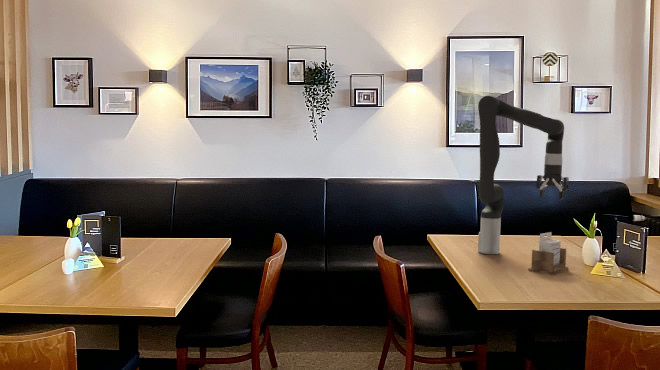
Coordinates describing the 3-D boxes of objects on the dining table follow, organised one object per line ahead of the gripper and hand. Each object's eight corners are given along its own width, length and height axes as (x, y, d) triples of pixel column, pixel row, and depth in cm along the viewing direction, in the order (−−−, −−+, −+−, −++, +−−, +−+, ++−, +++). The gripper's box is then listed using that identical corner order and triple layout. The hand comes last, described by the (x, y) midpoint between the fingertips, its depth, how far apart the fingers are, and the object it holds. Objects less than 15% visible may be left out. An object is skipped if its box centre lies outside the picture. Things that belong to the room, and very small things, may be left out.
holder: (528, 270, 256) (529, 249, 255) (543, 264, 266) (544, 244, 265) (553, 275, 248) (554, 254, 247) (568, 269, 259) (569, 248, 258)
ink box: (547, 270, 253) (549, 235, 251) (537, 267, 257) (539, 233, 255) (559, 267, 257) (561, 233, 256) (549, 265, 262) (551, 231, 260)
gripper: (534, 163, 275) (533, 198, 277) (565, 164, 265) (563, 201, 267) (541, 162, 280) (540, 196, 282) (572, 164, 270) (570, 199, 272)
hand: (551, 198), depth 274 cm, fingers open, 8 cm apart
